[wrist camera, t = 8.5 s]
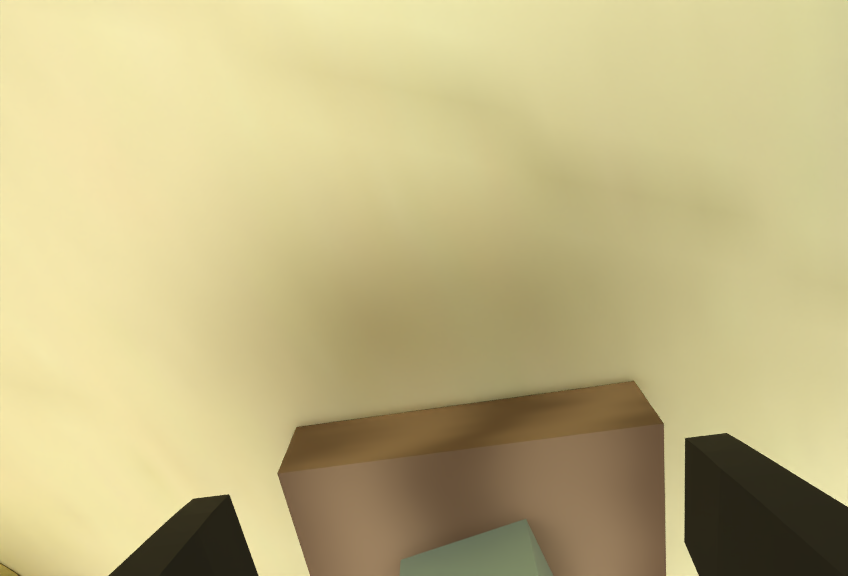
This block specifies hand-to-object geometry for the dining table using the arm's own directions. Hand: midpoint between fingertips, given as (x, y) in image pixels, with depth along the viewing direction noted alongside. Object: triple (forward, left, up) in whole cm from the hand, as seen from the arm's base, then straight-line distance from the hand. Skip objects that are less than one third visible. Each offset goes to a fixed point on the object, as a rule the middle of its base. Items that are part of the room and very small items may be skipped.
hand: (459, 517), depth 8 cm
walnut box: (0, +10, -10) cm, 14 cm away
